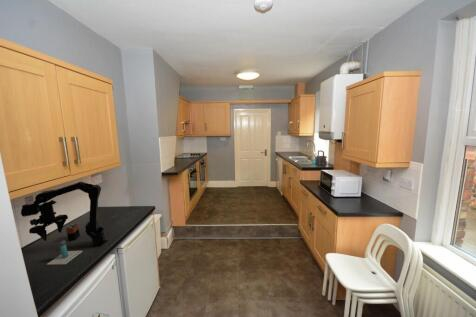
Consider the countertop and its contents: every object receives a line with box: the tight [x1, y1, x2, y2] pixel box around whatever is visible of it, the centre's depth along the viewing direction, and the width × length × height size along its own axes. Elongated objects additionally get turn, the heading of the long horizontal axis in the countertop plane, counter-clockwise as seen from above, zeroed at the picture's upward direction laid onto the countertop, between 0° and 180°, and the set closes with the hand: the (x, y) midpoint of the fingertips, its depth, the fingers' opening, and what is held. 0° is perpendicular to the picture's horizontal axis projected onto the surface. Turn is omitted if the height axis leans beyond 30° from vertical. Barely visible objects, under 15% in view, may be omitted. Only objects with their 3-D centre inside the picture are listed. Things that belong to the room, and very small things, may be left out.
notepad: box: [46, 250, 83, 266], centre depth 119 cm, size 12×11×1 cm
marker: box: [57, 239, 69, 259], centre depth 118 cm, size 3×3×10 cm
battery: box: [65, 223, 81, 242], centre depth 141 cm, size 4×7×10 cm, turn 16°
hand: (52, 236), depth 122 cm, fingers open, 9 cm apart
